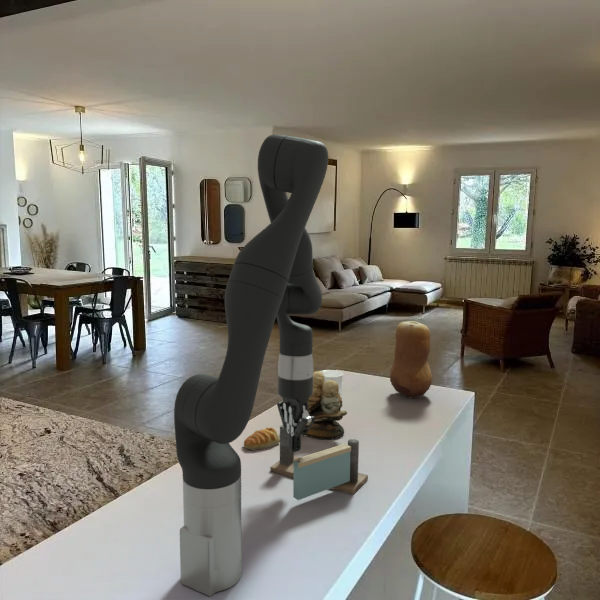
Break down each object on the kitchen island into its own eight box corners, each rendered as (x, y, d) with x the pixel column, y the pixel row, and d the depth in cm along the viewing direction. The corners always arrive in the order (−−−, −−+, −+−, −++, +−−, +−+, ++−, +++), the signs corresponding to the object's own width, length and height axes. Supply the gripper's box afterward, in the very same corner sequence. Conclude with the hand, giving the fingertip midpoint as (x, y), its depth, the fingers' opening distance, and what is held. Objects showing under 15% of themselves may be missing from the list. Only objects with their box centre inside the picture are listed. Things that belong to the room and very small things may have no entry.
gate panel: (350, 481, 119) (351, 446, 118) (298, 500, 111) (298, 463, 109) (344, 478, 120) (345, 443, 119) (292, 496, 112) (293, 459, 111)
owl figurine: (356, 432, 151) (358, 372, 148) (331, 445, 142) (332, 382, 139) (306, 416, 162) (307, 360, 160) (279, 428, 153) (280, 369, 151)
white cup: (314, 406, 171) (315, 375, 169) (321, 398, 178) (321, 368, 177) (339, 409, 169) (340, 377, 167) (344, 401, 176) (345, 371, 175)
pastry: (254, 454, 136) (254, 440, 136) (237, 446, 141) (237, 432, 140) (282, 444, 143) (282, 430, 142) (265, 436, 147) (265, 423, 147)
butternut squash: (436, 394, 184) (440, 321, 180) (423, 405, 173) (426, 327, 169) (397, 387, 191) (400, 316, 188) (382, 397, 180) (384, 322, 176)
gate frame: (352, 494, 116) (354, 449, 115) (270, 471, 127) (270, 429, 125) (367, 479, 123) (369, 437, 122) (288, 458, 134) (288, 419, 132)
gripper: (327, 379, 113) (325, 458, 116) (295, 364, 125) (294, 436, 127) (295, 383, 110) (294, 465, 112) (266, 368, 121) (265, 442, 123)
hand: (294, 450), depth 120 cm, fingers closed
